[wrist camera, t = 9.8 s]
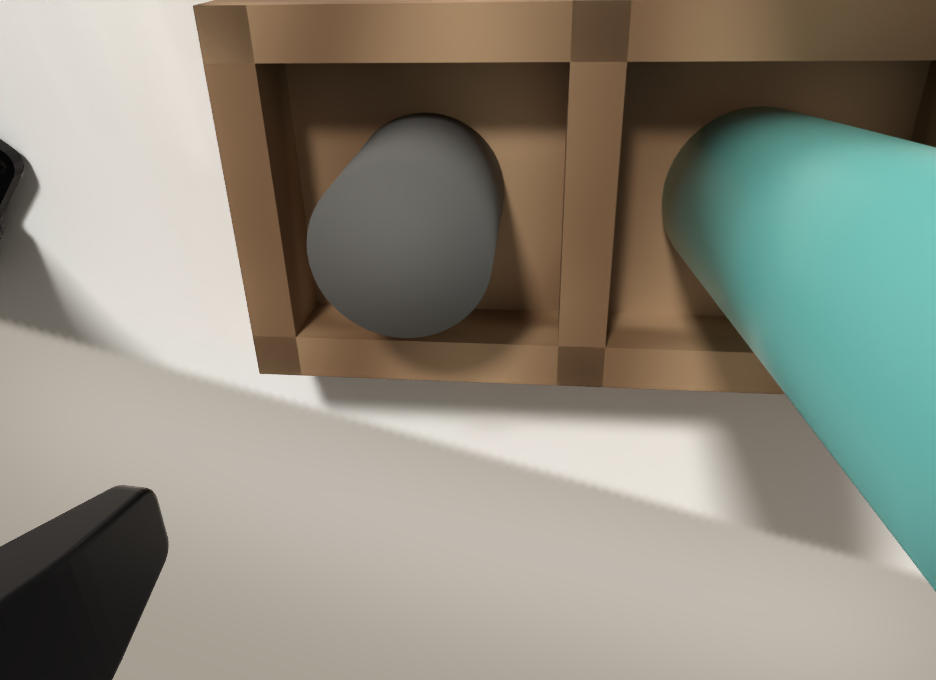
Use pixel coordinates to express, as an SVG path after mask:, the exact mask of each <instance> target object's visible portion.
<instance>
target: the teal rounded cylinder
mask: <svg viewBox="0 0 936 680" xmlns="http://www.w3.org/2000/svg"><path fill="white" fill-rule="evenodd" d="M662 217H663V222H664V226H665V230H666V232H667V235H668V238H669V240H670V241H671V243H672V245H673V247H674V248H675V250H676V251H677V252H678V254H679V255H680V256H681V258H682V259H683V260H684V262H685V263H686V264H687V266H688V267H689V268H690V270H691V271H692V272H693V273H694V275H695V276H696V277H697V279H698V280H699V281H700V283H701V284H702V285H703V287H704V288H705V289H706V291H707V292H708V293H709V294H710V296H711V297H712V298H713V300H714V301H715V302H716V304H717V305H718V306H719V308H720V309H721V310H722V312H723V313H724V314H725V315H726V317H727V318H728V319H729V321H730V322H731V323H732V325H733V326H734V327H735V329H736V330H737V331H738V333H739V334H740V335H741V337H742V338H743V339H744V340H745V342H746V343H747V344H748V346H749V347H750V348H751V350H752V351H753V352H754V354H755V355H756V356H757V358H758V359H759V360H760V361H761V363H762V364H763V365H764V367H765V368H766V369H767V371H768V372H769V373H770V375H771V376H772V377H773V379H774V380H775V381H776V382H777V384H778V385H779V386H780V388H781V389H782V390H783V392H784V393H785V394H786V396H787V397H788V398H789V400H790V401H791V402H792V403H793V405H794V406H795V407H796V409H797V410H798V411H799V413H800V414H801V415H802V417H803V418H804V419H805V421H806V422H807V423H808V424H809V426H810V427H811V428H812V430H813V431H814V432H815V434H816V435H817V436H818V438H819V439H820V440H821V442H822V443H823V444H824V446H825V447H826V448H827V449H828V451H829V452H830V453H831V455H832V456H833V457H834V459H835V460H836V461H837V463H838V464H839V465H840V467H841V468H842V469H843V470H844V472H845V473H846V474H847V476H848V477H849V478H850V480H851V481H852V482H853V484H854V485H855V486H856V488H857V489H858V490H859V491H860V493H861V494H862V495H863V497H864V498H865V499H866V501H867V502H868V503H869V505H870V506H871V507H872V509H873V510H874V511H875V512H876V514H877V515H878V516H879V518H880V519H881V520H882V522H883V523H884V524H885V526H886V527H887V528H888V530H889V531H890V532H891V533H892V535H893V536H894V537H895V539H896V540H897V541H898V543H899V544H900V545H901V547H902V548H903V549H904V551H905V552H906V553H907V555H908V556H909V557H910V558H911V560H912V561H913V562H914V564H915V565H916V566H917V568H918V569H919V570H920V572H921V573H922V574H923V576H924V577H925V578H926V579H927V581H928V582H929V583H930V585H931V586H932V587H933V589H934V590H935V591H936V147H932V146H928V145H924V144H920V143H916V142H912V141H908V140H904V139H900V138H896V137H893V136H889V135H885V134H881V133H877V132H873V131H869V130H865V129H861V128H857V127H853V126H849V125H845V124H841V123H837V122H833V121H830V120H826V119H822V118H818V117H814V116H810V115H806V114H802V113H798V112H794V111H790V110H786V109H782V108H777V107H768V106H761V107H749V108H743V109H739V110H736V111H732V112H729V113H727V114H725V115H722V116H720V117H718V118H716V119H714V120H713V121H711V122H709V123H708V124H706V125H705V126H704V127H702V128H701V129H700V130H698V131H697V132H696V133H695V134H694V135H693V136H692V137H691V138H690V139H689V140H688V141H687V142H686V143H685V145H684V146H683V147H682V148H681V149H680V151H679V152H678V154H677V156H676V157H675V159H674V160H673V162H672V165H671V167H670V169H669V171H668V174H667V177H666V180H665V183H664V188H663V193H662Z"/></svg>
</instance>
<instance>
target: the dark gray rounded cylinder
mask: <svg viewBox="0 0 936 680" xmlns="http://www.w3.org/2000/svg"><path fill="white" fill-rule="evenodd" d="M503 202H504V179H503V174H502V170H501V167H500V164H499V161H498V159H497V157H496V155H495V153H494V152H493V150H492V149H491V147H490V146H489V144H488V143H487V142H486V141H485V140H484V138H483V137H482V136H481V135H480V134H479V133H477V132H476V131H475V130H474V129H473V128H471V127H470V126H468V125H467V124H465V123H463V122H461V121H459V120H457V119H455V118H452V117H449V116H446V115H442V114H437V113H426V112H425V113H413V114H408V115H404V116H401V117H398V118H396V119H394V120H392V121H390V122H388V123H386V124H385V125H383V126H382V127H381V128H379V129H378V130H377V131H376V132H375V133H374V134H373V135H372V136H371V137H370V138H369V140H368V141H367V142H366V143H365V144H364V146H363V147H362V148H361V149H360V151H359V152H358V153H357V154H356V155H355V157H354V158H353V159H352V160H351V161H350V163H349V164H348V165H347V166H346V168H345V169H344V170H343V171H342V172H341V174H340V175H339V176H338V177H337V179H336V180H335V181H334V182H333V183H332V185H331V186H330V187H329V188H328V189H327V191H326V192H325V193H324V195H323V196H322V197H321V198H320V200H319V202H318V203H317V205H316V207H315V209H314V211H313V213H312V216H311V219H310V222H309V226H308V231H307V255H308V260H309V265H310V268H311V271H312V274H313V277H314V279H315V281H316V283H317V285H318V287H319V288H320V290H321V291H322V293H323V295H324V296H325V297H326V298H327V300H328V301H329V302H330V303H331V305H332V306H333V307H335V308H336V309H337V310H338V311H339V312H340V313H341V314H342V315H344V316H345V317H346V318H347V319H349V320H350V321H352V322H354V323H355V324H357V325H359V326H360V327H363V328H365V329H367V330H369V331H372V332H375V333H378V334H381V335H385V336H390V337H398V338H418V337H425V336H429V335H433V334H437V333H440V332H442V331H444V330H447V329H449V328H451V327H452V326H454V325H456V324H458V323H459V322H460V321H462V320H463V319H464V318H465V317H467V316H468V315H469V314H470V313H471V312H472V311H473V310H474V308H475V307H476V306H477V304H478V303H479V302H480V300H481V299H482V297H483V295H484V293H485V291H486V289H487V286H488V284H489V281H490V277H491V272H492V267H493V261H494V255H495V249H496V243H497V237H498V231H499V225H500V219H501V213H502V208H503Z"/></svg>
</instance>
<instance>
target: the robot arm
mask: <svg viewBox="0 0 936 680" xmlns="http://www.w3.org/2000/svg"><path fill="white" fill-rule="evenodd" d="M0 158H1V159H2V160H3V161H4V162H5V164H6V167H7V168H6V169H4V168H3V167H2V166H1V165H0V217H1V215H2V213H3V211H4V209H5V207H6V205H7V203H8V201H9V199H10V197H11V195H12V193H13V191H14V189H15V187H16V185H17V183H18V181H19V179H20V177H21V175H22V173H23V168H24V166H23V161H22V159H21V157H20V155H19V154H18V153H17V152H16V151H15V150H14V149H13V148H12V147H10V146H9V145H8V144H6V143H5V142H3V141H2V140H0ZM3 232H4V224H3V220H2V219H0V238H1V236H2V234H3ZM167 553H168V536H167V533H166V529H165V526H164V522H163V518H162V515H161V511H160V507H159V503H158V500H157V497H156V495H155V493H154V492H153V491H152V490H150V489H148V488H144V487H135V486H125V485H122V486H121V485H120V486H116V487H113V488H111V489H109V490H107V491H105V492H104V493H101V494H99V495H97V496H96V497H94V498H92V499H90V500H88V501H86V502H84V503H82V504H81V505H78V506H77V507H75V508H73V509H71V510H69V511H67V512H65V513H63V514H61V515H60V516H58V517H56V518H54V519H52V520H50V521H48V522H46V523H44V524H42V525H40V526H39V527H37V528H35V529H33V530H31V531H29V532H27V533H25V534H23V535H22V536H20V537H18V538H16V539H14V540H12V541H10V542H8V543H6V544H5V545H3V546H1V547H0V680H112V679H113V677H114V675H115V673H116V671H117V668H118V666H119V664H120V662H121V660H122V658H123V656H124V653H125V651H126V649H127V647H128V644H129V642H130V640H131V637H132V635H133V633H134V631H135V629H136V626H137V624H138V622H139V620H140V617H141V615H142V613H143V611H144V608H145V606H146V604H147V602H148V599H149V597H150V595H151V592H152V590H153V588H154V586H155V583H156V581H157V579H158V577H159V574H160V572H161V570H162V568H163V565H164V563H165V560H166V557H167Z"/></svg>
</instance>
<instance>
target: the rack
mask: <svg viewBox="0 0 936 680" xmlns="http://www.w3.org/2000/svg"><path fill="white" fill-rule="evenodd" d="M193 9H194V15H195V20H196V26H197V31H198V37H199V42H200V48H201V53H202V59H203V64H204V70H205V75H206V81H207V86H208V92H209V97H210V103H211V108H212V114H213V119H214V125H215V130H216V136H217V141H218V147H219V152H220V158H221V163H222V169H223V174H224V180H225V185H226V191H227V196H228V202H229V207H230V213H231V218H232V224H233V229H234V235H235V240H236V246H237V251H238V257H239V262H240V268H241V274H242V279H243V285H244V290H245V296H246V301H247V307H248V312H249V318H250V323H251V329H252V334H253V340H254V345H255V351H256V356H257V362H258V367H259V373H260V374H282V375H307V376H333V377H358V378H384V379H409V380H435V381H460V382H485V383H511V384H536V385H562V386H587V387H613V388H638V389H663V390H689V391H714V392H740V393H765V394H785V393H784V392H783V390H782V389H781V388H780V386H779V385H778V384H777V382H776V381H775V380H774V379H773V377H772V376H771V375H770V373H769V372H768V371H767V369H766V368H765V367H764V365H763V364H762V363H761V361H760V360H759V359H758V358H757V356H756V355H755V354H754V352H753V351H752V350H751V348H750V347H749V346H748V344H747V343H746V342H745V340H744V339H743V338H742V337H741V335H740V334H739V333H738V331H737V330H736V329H735V327H734V326H733V325H732V323H731V322H730V321H729V319H728V318H727V317H726V315H725V314H724V313H723V312H722V310H721V309H720V308H719V306H718V305H717V304H716V302H715V301H714V300H713V298H712V297H711V296H710V294H709V293H708V292H707V291H706V289H705V288H704V287H703V285H702V284H701V283H700V281H699V280H698V279H697V277H696V276H695V275H694V273H693V272H692V271H691V270H690V268H689V267H688V266H687V264H686V263H685V262H684V260H683V259H682V258H681V256H680V255H679V254H678V252H677V251H676V250H675V248H674V247H673V245H672V243H671V241H670V240H669V238H668V235H667V232H666V230H665V226H664V222H663V217H662V193H663V188H664V183H665V180H666V177H667V174H668V171H669V169H670V167H671V165H672V162H673V160H674V159H675V157H676V156H677V154H678V152H679V151H680V149H681V148H682V147H683V146H684V145H685V143H686V142H687V141H688V140H689V139H690V138H691V137H692V136H693V135H694V134H695V133H696V132H697V131H698V130H700V129H701V128H702V127H704V126H705V125H706V124H708V123H709V122H711V121H713V120H714V119H716V118H718V117H720V116H722V115H725V114H727V113H729V112H732V111H736V110H739V109H743V108H749V107H761V106H768V107H777V108H782V109H786V110H790V111H794V112H798V113H802V114H806V115H810V116H814V117H818V118H822V119H826V120H830V121H833V122H837V123H841V124H845V125H849V126H853V127H857V128H861V129H865V130H869V131H873V132H877V133H881V134H885V135H889V136H893V137H896V138H900V139H904V140H908V141H912V142H916V143H920V144H924V145H928V146H932V147H936V0H214V1H210V2H206V3H202V4H198V5H194V6H193ZM425 112H426V113H437V114H442V115H446V116H449V117H452V118H455V119H457V120H459V121H461V122H463V123H465V124H467V125H468V126H470V127H471V128H473V129H474V130H475V131H476V132H477V133H479V134H480V135H481V136H482V137H483V138H484V140H485V141H486V142H487V143H488V144H489V146H490V147H491V149H492V150H493V152H494V153H495V155H496V157H497V159H498V161H499V164H500V167H501V170H502V174H503V179H504V202H503V208H502V213H501V219H500V225H499V231H498V237H497V243H496V249H495V255H494V261H493V267H492V272H491V277H490V281H489V284H488V286H487V289H486V291H485V293H484V295H483V297H482V299H481V300H480V302H479V303H478V304H477V306H476V307H475V308H474V310H473V311H472V312H471V313H470V314H469V315H468V316H467V317H465V318H464V319H463V320H462V321H460V322H459V323H458V324H456V325H454V326H452V327H451V328H449V329H447V330H444V331H442V332H440V333H437V334H433V335H429V336H425V337H418V338H398V337H390V336H385V335H381V334H378V333H375V332H372V331H369V330H367V329H365V328H363V327H360V326H359V325H357V324H355V323H354V322H352V321H350V320H349V319H347V318H346V317H345V316H344V315H342V314H341V313H340V312H339V311H338V310H337V309H336V308H335V307H333V306H332V305H331V303H330V302H329V301H328V300H327V298H326V297H325V296H324V295H323V293H322V291H321V290H320V288H319V287H318V285H317V283H316V281H315V279H314V277H313V274H312V271H311V268H310V265H309V260H308V255H307V231H308V226H309V222H310V219H311V216H312V213H313V211H314V209H315V207H316V205H317V203H318V202H319V200H320V198H321V197H322V196H323V195H324V193H325V192H326V191H327V189H328V188H329V187H330V186H331V185H332V183H333V182H334V181H335V180H336V179H337V177H338V176H339V175H340V174H341V172H342V171H343V170H344V169H345V168H346V166H347V165H348V164H349V163H350V161H351V160H352V159H353V158H354V157H355V155H356V154H357V153H358V152H359V151H360V149H361V148H362V147H363V146H364V144H365V143H366V142H367V141H368V140H369V138H370V137H371V136H372V135H373V134H374V133H375V132H376V131H377V130H378V129H379V128H381V127H382V126H383V125H385V124H386V123H388V122H390V121H392V120H394V119H396V118H398V117H401V116H404V115H408V114H413V113H425Z"/></svg>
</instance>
